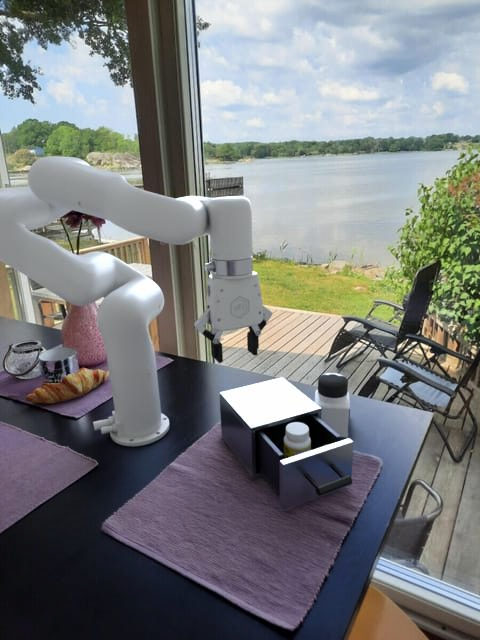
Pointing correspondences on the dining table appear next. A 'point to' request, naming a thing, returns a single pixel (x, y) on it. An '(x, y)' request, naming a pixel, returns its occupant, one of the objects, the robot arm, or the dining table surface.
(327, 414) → the medicine bottle
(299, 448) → the supplement bottle
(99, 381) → the croissant
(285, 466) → the drawer
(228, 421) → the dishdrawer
